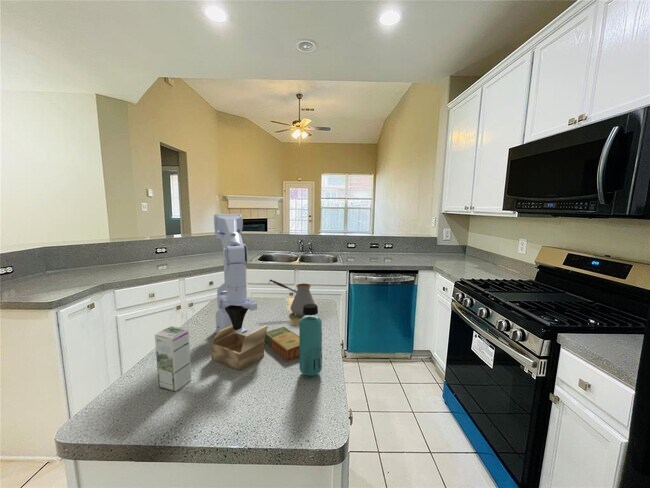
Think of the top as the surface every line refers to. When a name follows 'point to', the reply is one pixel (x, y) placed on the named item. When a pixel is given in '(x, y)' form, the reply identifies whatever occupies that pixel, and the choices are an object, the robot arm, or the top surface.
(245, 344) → the flap
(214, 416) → the top surface
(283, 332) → the carton
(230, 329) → the flap
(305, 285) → the coffee pot
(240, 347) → the cardboard box
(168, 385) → the syrup box
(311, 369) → the beverage bottle
